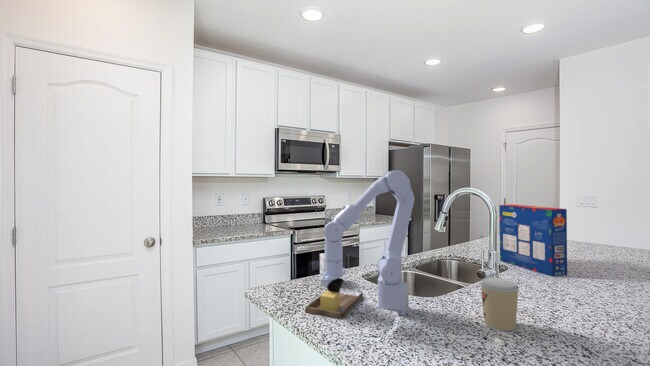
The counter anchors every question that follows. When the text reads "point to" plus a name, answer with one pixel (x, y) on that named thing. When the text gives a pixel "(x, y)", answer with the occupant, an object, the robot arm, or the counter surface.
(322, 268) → the ink box
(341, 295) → the wooden serving tray
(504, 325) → the coffee cup
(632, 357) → the counter surface
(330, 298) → the block
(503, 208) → the blue cardboard box
